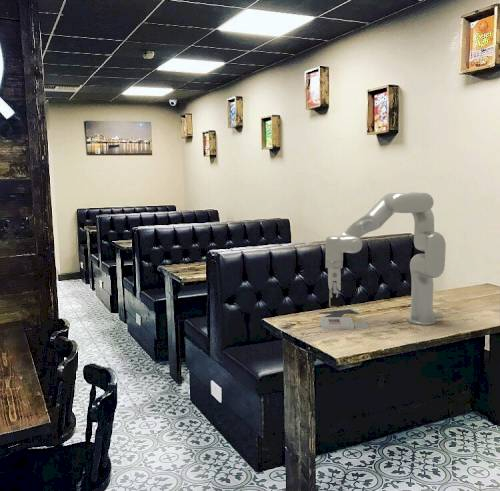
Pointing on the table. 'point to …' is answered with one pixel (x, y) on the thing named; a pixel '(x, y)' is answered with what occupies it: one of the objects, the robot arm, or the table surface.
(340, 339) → the table surface
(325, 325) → the block
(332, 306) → the peg
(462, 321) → the table surface
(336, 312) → the picture frame
